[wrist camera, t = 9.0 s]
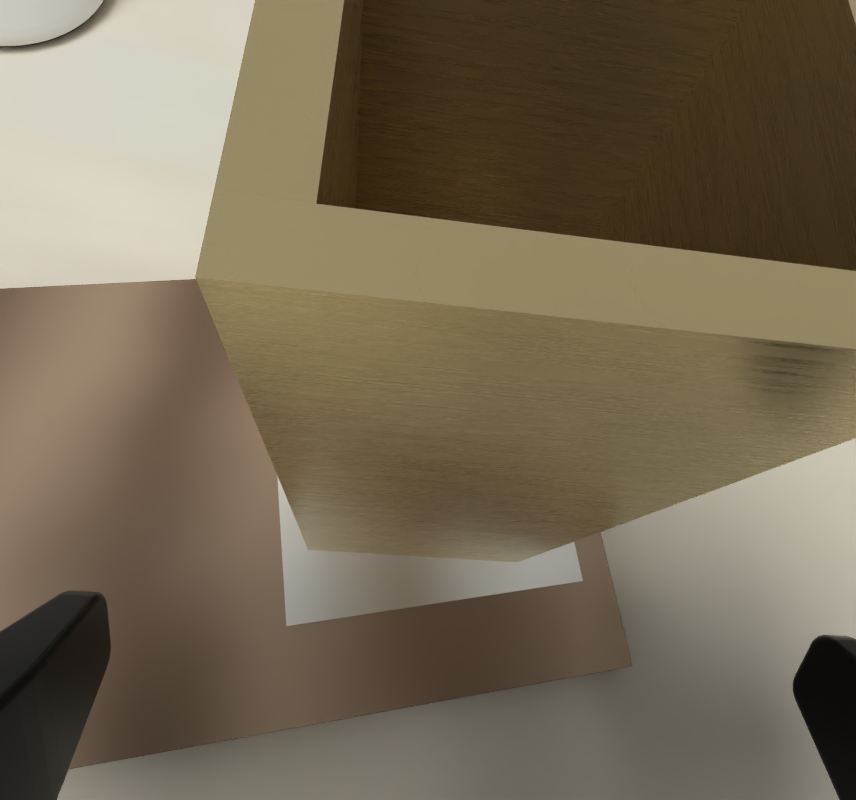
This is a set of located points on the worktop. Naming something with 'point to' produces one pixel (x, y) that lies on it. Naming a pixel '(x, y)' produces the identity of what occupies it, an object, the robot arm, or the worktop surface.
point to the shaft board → (236, 546)
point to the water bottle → (41, 19)
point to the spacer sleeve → (535, 259)
